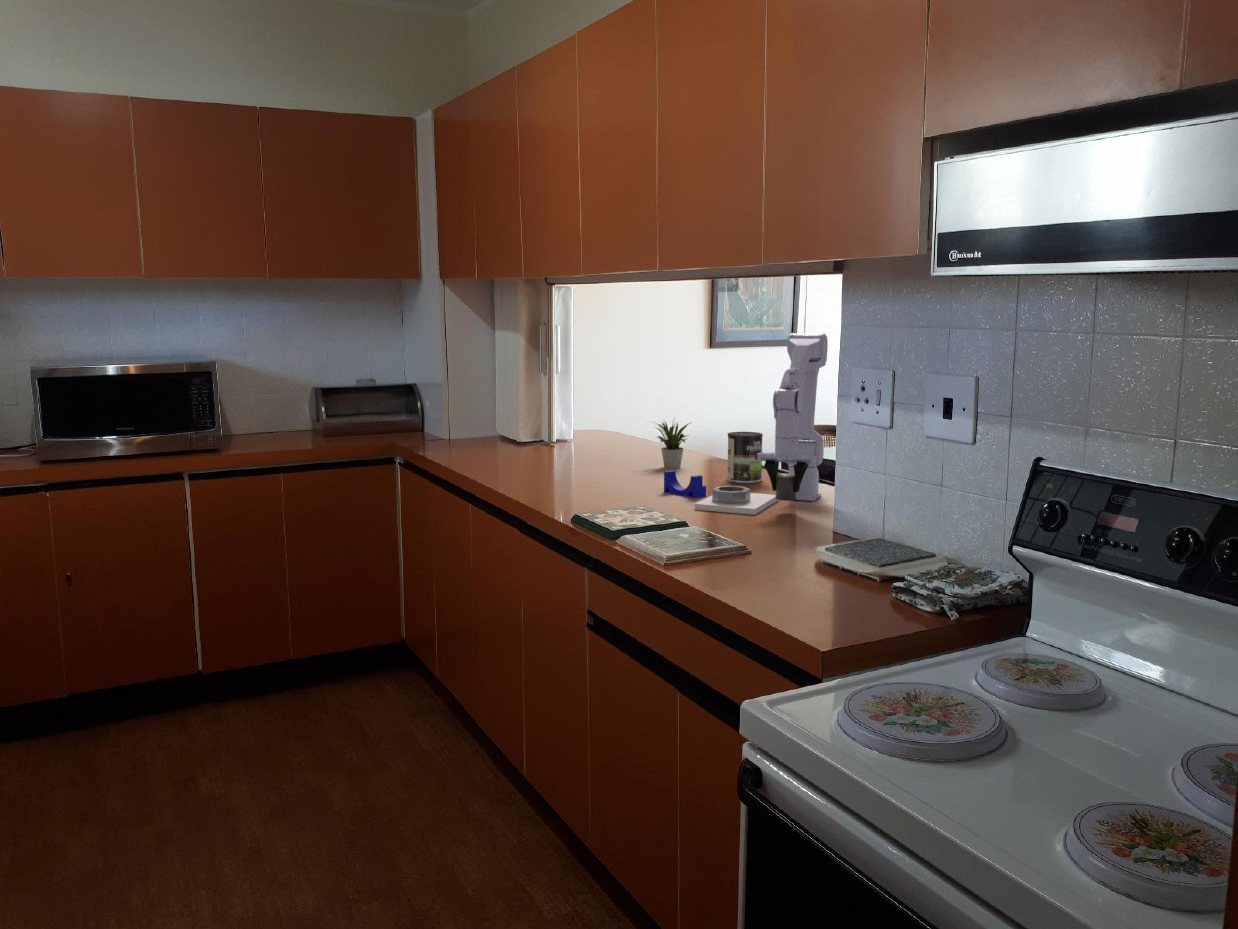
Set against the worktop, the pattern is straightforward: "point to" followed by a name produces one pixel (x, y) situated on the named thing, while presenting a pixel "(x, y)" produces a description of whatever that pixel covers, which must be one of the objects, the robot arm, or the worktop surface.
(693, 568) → the worktop surface
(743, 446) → the coffee can
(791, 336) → the robot arm
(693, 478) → the blue u-shaped cradle block
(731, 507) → the socket board
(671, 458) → the house plant
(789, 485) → the dark gray cylinder
